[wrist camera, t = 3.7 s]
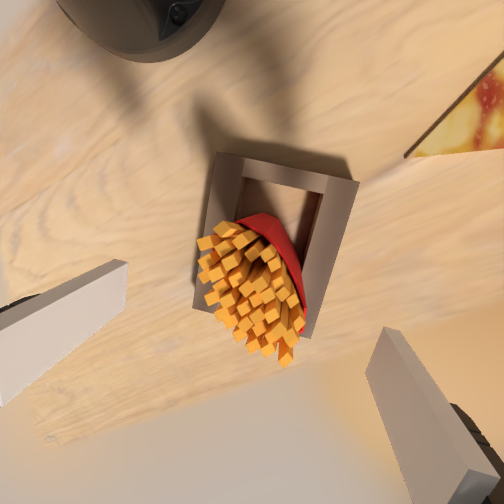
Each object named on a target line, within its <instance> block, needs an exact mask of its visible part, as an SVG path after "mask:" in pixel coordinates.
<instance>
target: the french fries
mask: <svg viewBox="0 0 504 504" xmlns="http://www.w3.org/2000/svg"><path fill="white" fill-rule="evenodd" d="M213 230H214V231H215V232H216V233H215V234H213V235H209V236H206V237H203V238H200V239H197V243H198V246H199V249H200V251H202V250H207V249H211V248H212V252H211V253H209V254H207V255H205V256H204V257H202V258H200V259H199V260H197V261H198V262H199V264H200V266H201V267H202V269H203V270H204V271H202V272H201V273H199V274H198V277H199V278H200V280H201V281H202V283H203V284H205V283H206V282H208V281H209V280H211V282H212V283H213V282H215V281H217V280H219V279H220V280H219V281H218V282H217V283H215V284H214V285H213V286H212V287H213V289H211V290H210V291H209V292H208V293H207V294H206V295H204V297H205V300H206V302H207V305H208V306H210V305H212V304H215V303H217V302H219V301H220V303H221V305H220V306H219V307H218V308H217V309H216V310H215V311H214V314H215V316H216V318H217V321H218V322H220V321H222V320H223V322H224V324H225V326H226V328H227V330H228V329H229V328H231V327H233V326H235V325H236V327H235V329H234V331H233V333H232V334H233V336H234V338H235V340H236V342H239V341H240V340H242V339H244V338H245V337H247V336H248V335H249V336H248V339H247V342H246V347H247V349H248V351H249V353H250V354H251V353H253V352H254V351H256V350H258V349H259V348H260V350H261V352H262V354H263V356H264V358H265V357H267V356H268V355H270V354H272V353H273V352H275V351H276V347H277V343H278V342H279V354H278V362H279V363H280V364H281V366H282V367H283V368H285V367H286V366H287V365H288V364H289V363H290V362H291V361H292V360H293V346H294V345H295V344H296V343H297V342H298V341H299V334H300V333H302V332H304V327H305V324H306V323H305V319H306V311H307V305H306V299H305V292H304V286H303V280H302V273H301V267H300V261H299V256H298V254H297V252H296V250H295V248H294V246H293V244H292V242H291V240H290V238H289V237H288V235H287V233H286V231H285V230H284V228H283V226H282V224H281V223H280V221H279V220H278V218H276V217H273V216H271V215H268V214H266V213H264V212H262V213H259V214H256V215H252V216H249V217H246V218H243V219H240V220H238V221H236V222H234V223H231V222H227V221H222V222H220V223H219V224H218V225H217V226H216V227H214V228H213ZM211 265H212V266H211ZM206 268H207V269H206ZM251 327H252V328H251ZM249 332H250V333H249ZM263 336H264V338H263ZM262 340H263V341H262Z"/></svg>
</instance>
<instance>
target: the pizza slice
mask: <svg viewBox="0 0 504 504" xmlns="http://www.w3.org/2000/svg"><path fill="white" fill-rule="evenodd" d="M502 148H504V56H503V57H502V59H501V60H500V61H499V62H498V63H497V64H496V65H495V66H494V67H493V68H492V69H491V70H490V71H489V72H488V73H487V74H486V75H485V76H484V77H483V78H482V79H481V80H480V81H479V82H478V83H477V84H476V85H475V86H474V87H473V88H472V89H471V90H470V92H469V93H468V94H467V95H466V96H465V97H464V98H463V99H462V100H461V101H460V102H459V103H458V104H457V105H456V106H455V107H454V108H453V109H452V110H451V111H450V112H449V113H448V114H447V115H446V116H445V117H444V118H443V119H442V120H441V121H440V122H439V123H438V125H437V126H436V127H435V128H434V129H433V130H432V131H431V132H430V133H429V134H428V135H427V136H426V137H425V138H424V139H423V140H422V141H421V142H420V143H419V144H418V145H417V146H416V147H415V148H414V149H413V150H412V151H411V152H410V153H409V154H408V155H407V156H406V158H415V157H425V156H434V155H444V154H454V153H463V152H473V151H483V150H492V149H502ZM406 158H405V159H406Z"/></svg>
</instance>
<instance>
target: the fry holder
mask: <svg viewBox="0 0 504 504" xmlns="http://www.w3.org/2000/svg"><path fill="white" fill-rule="evenodd" d="M246 177H248V178H253V179H257V180H262V181H267V182H271V183H276V184H280V185H285V186H290V187H294V188H299V189H303V190H308V191H313V192H317V193H320V197H319V201H318V204H317V208H316V212H315V215H314V219H313V223H312V226H311V230H310V233H309V237H308V241H307V244H306V248H305V252H304V255H303V259H302V262H301V266H300V267H301V273H302V280H303V286H304V292H305V299H306V305H307V311H306V319H305V323H306V324H305V327H304V332H302V333H300V334H299V336H301V337H305V338H309V339H311V336H312V333H313V330H314V327H315V323H316V320H317V317H318V314H319V311H320V308H321V304H322V301H323V298H324V295H325V292H326V289H327V285H328V282H329V279H330V276H331V273H332V269H333V266H334V263H335V260H336V257H337V254H338V250H339V247H340V244H341V241H342V238H343V235H344V231H345V228H346V225H347V222H348V219H349V215H350V212H351V209H352V206H353V203H354V200H355V196H356V193H357V190H358V187H359V184H360V182H358V181H353V180H348V179H344V178H339V177H334V176H329V175H325V174H320V173H315V172H311V171H306V170H301V169H296V168H292V167H287V166H282V165H277V164H273V163H268V162H263V161H259V160H254V159H249V158H244V157H240V156H235V155H230V154H225V153H221V152H216V156H215V162H214V169H213V175H212V182H211V188H210V195H209V202H208V208H207V215H206V221H205V228H204V234H203V237H206V236H209V235H213V234H215V233H216V232H215V231H214V230H213V228H214V227H216V226H217V225H218V224H219V223H220V222H222V221H227V222H231V223H234V222H236V221H238V218H239V213H240V208H241V202H242V197H243V192H244V187H245V181H246ZM211 252H212V248H211V249H207V250H202V251H201V254H200V258H202V257H204V256H205V255H207V254H209V253H211ZM211 266H212V265H211ZM206 269H207V268H206ZM202 271H204V270H203V269H202V267H201V266H200V264H199V267H198V274H199V273H201V272H202ZM198 274H197V280H196V287H195V293H194V300H193V306H192V308H194V309H198V310H201V311H205V312H209V313H213V314H214V311H215V310H216V309H217V308H218V307H219V306H220V305H221V303H220V301H219V302H217V303H215V304H212V305H210V306H208V305H207V302H206V300H205V297H204V295H206V294H207V293H208V292H209V291H210V290H211V289H213V287H212V286H213V285H214V284H215V283H217V282H218V281H219V280H220V279H219V280H217V281H215V282H213V283H212V282H211V280H209V281H208V282H206V283H205V284H203V283H202V281H201V280H200V278H199V277H198Z"/></svg>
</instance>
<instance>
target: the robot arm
mask: <svg viewBox="0 0 504 504" xmlns="http://www.w3.org/2000/svg"><path fill="white" fill-rule="evenodd" d="M56 2H57V3H58V5H59V6H60V8H61V9H62V11H63V12H64V13H65V15H66V16H67V17H68V18H69V19H70V20H71V22H72V23H73V24H74V25H75V26H76V27H77V28H78V29H80V30H81V31H82V32H83V33H84V34H85V35H86V36H88V37H89V38H90V39H92V40H93V41H95V42H96V43H98V44H99V45H101V46H102V47H104V48H105V49H107V50H108V51H110V52H111V53H113V54H115V55H117V56H119V57H122V58H124V59H127V60H130V61H135V62H141V63H154V62H161V61H165V60H169V59H172V58H174V57H176V56H178V55H180V54H182V53H184V52H185V51H187V50H189V49H190V48H191V47H192V46H194V45H195V44H196V43H197V42H198V41H199V40H200V39H201V38H202V37H203V36H204V35H205V34H206V33H207V31H208V30H209V29H210V28H211V26H212V25H213V23H214V22H215V20H216V18H217V17H218V15H219V13H220V11H221V9H222V7H223V4H224V2H225V0H56ZM128 263H129V262H125V261H121V260H117V259H114V260H112V261H110V262H107V263H105V264H103V265H101V266H99V267H97V268H95V269H93V270H91V271H88V272H86V273H84V274H82V275H80V276H78V277H76V278H74V279H72V280H69V281H67V282H65V283H63V284H61V285H59V286H57V287H55V288H53V289H50V290H48V291H46V292H44V293H42V294H36V295H32V296H28V297H24V298H22V299H20V300H17V301H15V302H13V303H11V304H10V305H9V306H8V305H6V306H4V307H2V308H0V407H3V406H4V405H6V404H7V403H8V402H9V401H11V400H12V399H13V398H14V397H16V396H17V395H18V394H20V393H21V392H22V391H23V390H25V389H26V388H27V387H28V386H30V385H31V384H32V383H33V382H35V381H36V380H37V379H38V378H40V377H41V376H42V375H43V374H44V373H46V372H47V371H48V370H49V369H51V368H52V367H53V366H54V365H56V364H57V363H58V362H59V361H61V360H62V359H63V358H64V357H66V356H67V355H68V354H69V353H71V352H72V351H73V350H74V349H76V348H77V347H78V346H79V345H81V344H82V343H83V342H84V341H86V340H87V339H88V338H89V337H91V336H92V335H93V334H94V333H96V332H97V331H98V330H99V329H101V328H102V327H103V326H104V325H106V324H107V323H108V322H109V321H111V320H112V319H113V318H114V317H116V316H117V315H118V314H119V313H121V312H122V311H123V310H124V309H125V305H126V291H127V277H128ZM365 374H366V377H367V380H368V382H369V385H370V387H371V390H372V393H373V396H374V399H375V401H376V404H377V407H378V410H379V412H380V415H381V418H382V420H383V423H384V426H385V429H386V431H387V434H388V436H389V440H390V442H391V445H392V448H393V451H394V453H395V456H396V459H397V461H398V464H399V467H400V470H401V472H402V475H403V478H404V481H405V483H406V486H407V489H408V491H409V494H410V497H411V500H412V502H413V504H504V463H503V462H502V460H501V459H500V457H499V456H498V455H497V453H496V452H495V450H494V449H493V448H491V447H490V444H489V442H488V441H487V440H486V438H485V437H484V436H483V435H481V431H480V430H479V429H478V427H477V426H476V425H475V423H474V422H473V420H472V419H471V418H470V417H469V416H468V415H467V414H466V413H465V412H464V411H463V410H461V409H460V408H459V407H458V406H457V405H456V404H452V403H449V402H448V401H447V399H446V397H445V396H444V395H443V393H442V392H441V390H440V389H439V387H438V386H437V384H436V383H435V382H434V380H433V379H432V377H431V376H430V374H429V373H428V371H427V370H426V368H425V367H424V366H423V364H422V363H421V361H420V360H419V358H418V357H417V355H416V354H415V352H414V351H413V350H412V348H411V347H410V345H409V344H408V342H407V341H406V339H405V338H404V336H403V335H402V333H401V332H400V331H399V330H395V329H391V328H387V327H383V329H382V332H381V334H380V337H379V339H378V342H377V344H376V347H375V349H374V352H373V354H372V357H371V359H370V362H369V364H368V367H367V369H366V372H365Z"/></svg>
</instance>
